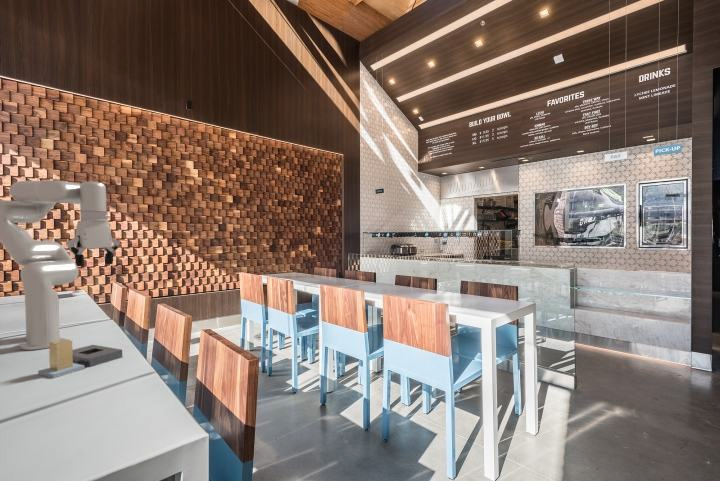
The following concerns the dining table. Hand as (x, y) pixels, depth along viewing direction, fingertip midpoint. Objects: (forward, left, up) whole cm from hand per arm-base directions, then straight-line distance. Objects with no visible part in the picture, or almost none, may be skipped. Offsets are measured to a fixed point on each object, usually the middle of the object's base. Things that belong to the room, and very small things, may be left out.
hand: (95, 265), depth 131 cm
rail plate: (+9, -7, -30) cm, 32 cm away
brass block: (+13, -17, -29) cm, 36 cm away
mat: (+13, -17, -30) cm, 37 cm away
